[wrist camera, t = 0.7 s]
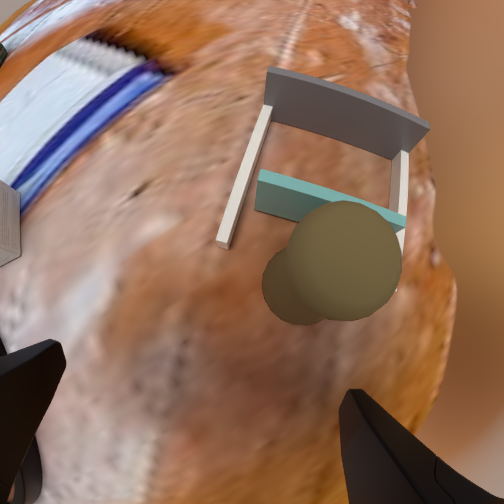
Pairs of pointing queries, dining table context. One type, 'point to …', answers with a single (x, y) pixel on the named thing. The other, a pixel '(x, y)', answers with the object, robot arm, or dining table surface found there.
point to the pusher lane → (329, 133)
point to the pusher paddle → (306, 199)
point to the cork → (334, 266)
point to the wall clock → (26, 471)
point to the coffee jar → (2, 53)
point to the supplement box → (9, 223)
